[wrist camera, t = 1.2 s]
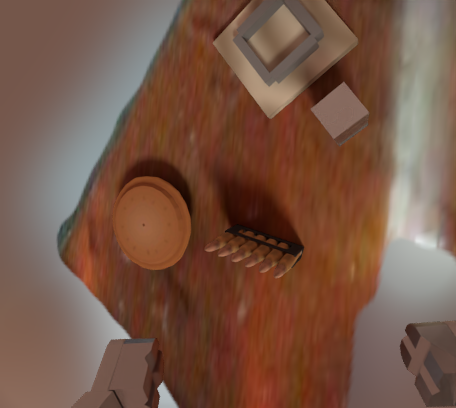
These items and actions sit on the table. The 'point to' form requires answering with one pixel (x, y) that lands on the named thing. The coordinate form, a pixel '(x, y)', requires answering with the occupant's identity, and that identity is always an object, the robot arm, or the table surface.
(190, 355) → the table surface
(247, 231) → the ammunition clip
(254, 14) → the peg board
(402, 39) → the table surface
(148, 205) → the pie
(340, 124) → the grey rectangular block
